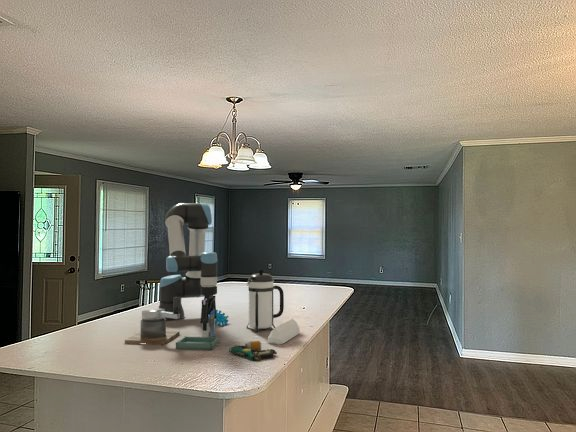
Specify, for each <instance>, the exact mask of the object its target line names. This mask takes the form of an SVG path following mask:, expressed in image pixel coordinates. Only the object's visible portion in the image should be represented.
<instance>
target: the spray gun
mask: <svg viewBox="0 0 576 432" xmlns="http://www.w3.org/2000/svg"><path fill="white" fill-rule="evenodd" d="M228 352H229V353H233V354H234V355H238V356H241V357H243V358H245V359H248V360H250V361H258V362H260V361H261V360H264V359H271V358H273V357H274V355H277V353H278V351H276V350H275V349H273V348H271V349H269V348H268V349H262V342H261V341H260V340H253V341H248V342H247V343H245V344H244V345H238V344H236V345H233V346H231V347H229V348H228Z"/></svg>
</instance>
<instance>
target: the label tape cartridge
mask: <svg viewBox="0 0 576 432" xmlns="http://www.w3.org/2000/svg"><path fill="white" fill-rule="evenodd" d="M214 312H215V309H214V310H213V311H211V315H210V316H209V317H208V323H209V337H215V332H214ZM212 313H213V314H212Z"/></svg>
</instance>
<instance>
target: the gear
mask: <svg viewBox="0 0 576 432" xmlns="http://www.w3.org/2000/svg"><path fill="white" fill-rule="evenodd" d="M216 316H217V318H215V325H218V326H221V327H225V326H226V325H228V322H229V320H228V318H229V315H226V313H225V312H223V313H222V310H218V309H216Z"/></svg>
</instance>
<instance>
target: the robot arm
mask: <svg viewBox="0 0 576 432" xmlns="http://www.w3.org/2000/svg"><path fill="white" fill-rule="evenodd" d="M212 218H213V217H212V211H211V207H210V205H209V204H207V203H201V202H196V203H195V202H193V203H189V202H188V203H187V202H180V203H177V204H175V205H173V206H172V207H171V208H170V209H169V210H168V211H167V212H166V215H165V218H164V221H165V222H164V223H165V227H166V228H167V236H168V238H167V239H168V248H169V255H168V256H166V258H165V269H166V272H168V273H185V272H186V273H185V277H184V276H183V277H182V275H181V274H172V275H167V276H163V277H161V279H160V281H159V306H158V308H160V309H165V312H172V313H173V297H179V313H180V318H179V319H178V320H181V319H184V318H185V311H184V307H183V304H182V299H187V298H188V299H190V298H191V299H192V298H193V299H194V298H203V299H202V300H201V313H200V320H199V321H200V322H199V323H200V324H201V329H202V330H201V337H209V323H208V317H209V316H210V315H211V311H213V310H214V309H215V312H214V333H216V332H215V331H216V329H215V328H216V327H215V326H216V324H215V318H217V316H216V310H217V308H216V307H217V304H216V295H217V294H218V286H217V285H218V281H219V279H218V261H219V260H218V254H217V252H215V251H214V252H213V251H209V252H208V251H205V249H206V231H207V230H208V229H209V225H212V222H213V221H212ZM184 225H186V228H187V229H188V230H189V243H188V244H189V246H188V249H189V250H188V255H187V253H186V252H187V251H186V246H185V245H186V244H185V238H184V237H185V236H184V229H183V226H184ZM212 314H213V313H212ZM165 319H166V321H176V320H177V319H174V318H167V317H165Z"/></svg>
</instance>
